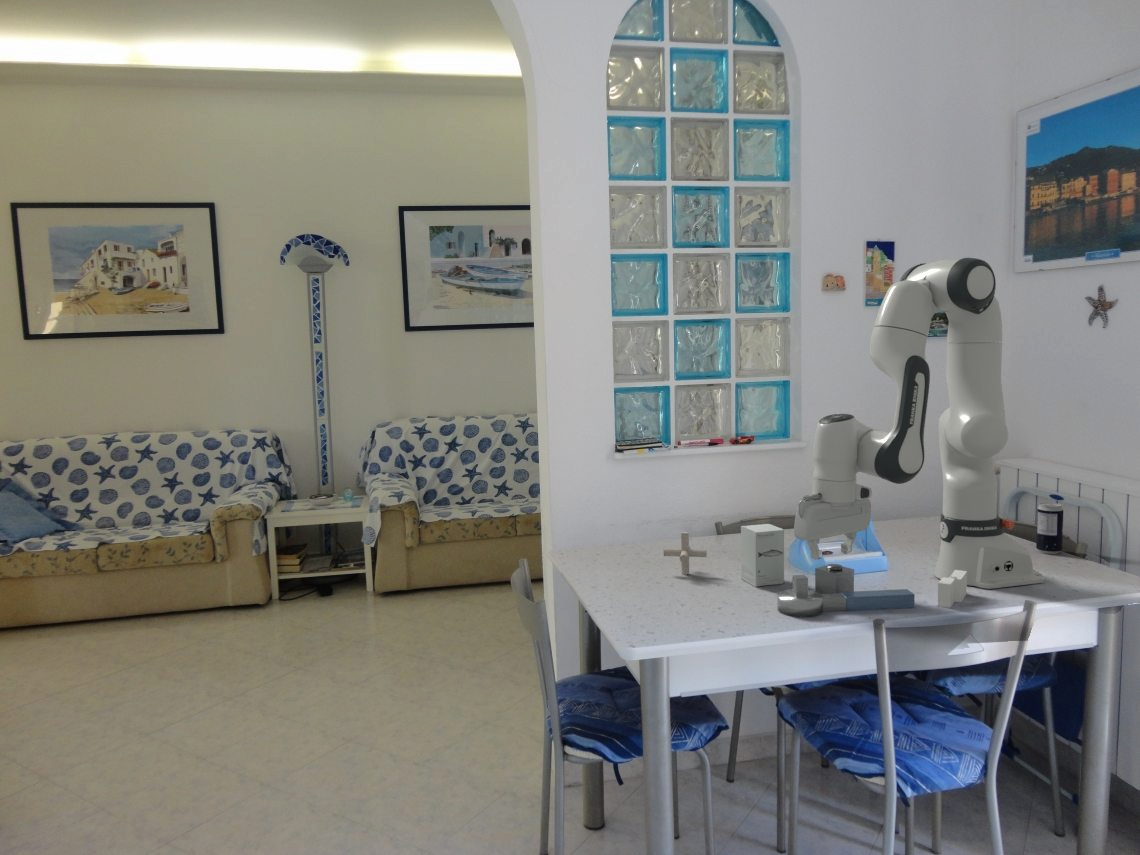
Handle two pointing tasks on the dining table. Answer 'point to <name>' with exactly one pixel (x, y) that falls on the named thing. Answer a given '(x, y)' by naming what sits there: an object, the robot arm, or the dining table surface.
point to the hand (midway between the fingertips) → (831, 555)
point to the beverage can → (1049, 528)
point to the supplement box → (762, 554)
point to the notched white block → (952, 588)
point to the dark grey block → (834, 579)
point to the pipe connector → (685, 552)
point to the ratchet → (838, 600)
